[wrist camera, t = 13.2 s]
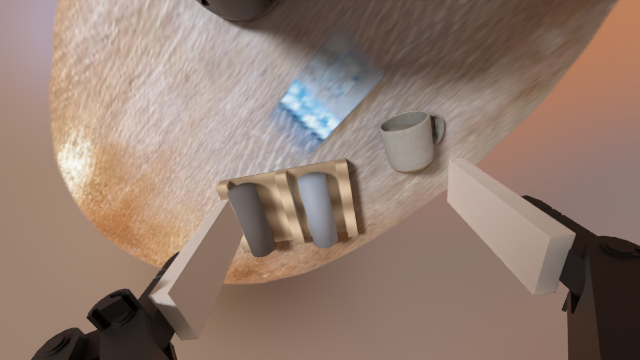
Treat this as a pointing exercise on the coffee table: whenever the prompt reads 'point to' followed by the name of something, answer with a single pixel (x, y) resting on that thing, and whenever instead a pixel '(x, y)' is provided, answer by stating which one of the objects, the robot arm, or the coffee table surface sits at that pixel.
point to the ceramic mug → (411, 140)
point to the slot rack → (297, 200)
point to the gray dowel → (318, 208)
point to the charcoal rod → (252, 218)
